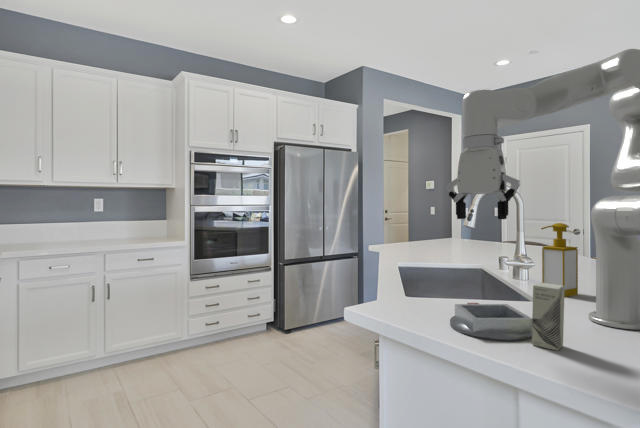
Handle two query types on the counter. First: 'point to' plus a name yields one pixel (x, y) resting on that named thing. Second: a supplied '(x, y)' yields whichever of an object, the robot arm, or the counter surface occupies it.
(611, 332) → the counter surface
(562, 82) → the robot arm
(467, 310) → the disc with square frame
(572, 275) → the soap bottle
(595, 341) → the counter surface
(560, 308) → the box
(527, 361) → the counter surface
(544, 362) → the counter surface
